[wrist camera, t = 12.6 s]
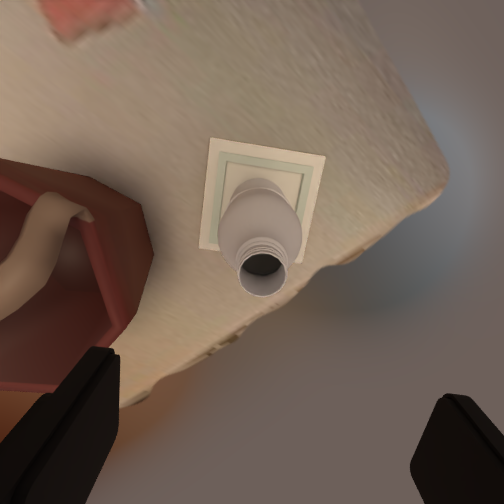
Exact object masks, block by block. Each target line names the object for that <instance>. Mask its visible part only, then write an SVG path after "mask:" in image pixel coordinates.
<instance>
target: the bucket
mask: <svg viewBox="0 0 504 504" xmlns="http://www.w3.org/2000/svg"><path fill="white" fill-rule="evenodd" d="M153 256H154V252H153V248H152V245H151V241H150V237H149V234H148V230H147V226H146V222H145V219H144V215H143V211H142V208H141V204H139V203H137V202H135V201H134V200H132V199H130V198H128V197H126V196H124V195H122V194H121V193H119V192H117V191H115V190H113V189H111V188H109V187H108V186H106V185H104V184H102V183H100V182H98V181H96V180H95V179H93V178H91V177H88V176H83V175H78V174H73V173H68V172H64V171H59V170H54V169H49V168H44V167H39V166H35V165H30V164H25V163H20V162H15V161H11V160H6V159H1V158H0V390H5V391H20V392H21V391H22V392H37V393H53V392H54V391H55V390H56V388H57V387H58V386H59V385H60V384H61V382H62V381H63V380H64V379H65V377H66V376H67V375H68V374H69V372H70V371H71V370H72V369H73V368H74V366H75V365H76V364H77V363H78V361H79V360H80V359H81V358H82V357H83V355H84V354H85V353H86V352H87V350H88V349H89V348H90V347H91V346H98V347H106V348H108V347H109V346H110V345H111V344H112V343H113V342H114V341H115V340H116V339H117V338H118V336H119V335H120V334H121V333H122V332H123V331H124V330H125V329H126V327H127V326H128V324H129V323H130V322H131V320H132V319H133V317H134V316H135V315H136V313H137V310H138V306H139V303H140V300H141V296H142V293H143V290H144V286H145V283H146V280H147V276H148V273H149V270H150V266H151V263H152V260H153Z"/></svg>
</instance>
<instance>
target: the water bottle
mask: <svg viewBox="0 0 504 504" xmlns="http://www.w3.org/2000/svg"><path fill="white" fill-rule="evenodd" d="M218 244H219V248H220V251H221V253H222V256H223V257H224V259H225V261H226V262H227V263H228V264H229V266H230V267H231V268H233V269H234V270H235V271H236V272H237V276H238V280H239V283H240V285H241V286H242V288H243V289H244V290H245V291H246V292H247V293H249V294H251V295H253V296H256V297H268V296H272V295H274V294H276V293H277V292H278V291H280V290H281V289H282V287H283V286H284V285H285V283H286V280H287V273H288V270H287V269H288V268H289V267H290V266H291V265H292V263H293V262H294V261H295V259H296V258H297V256H298V254H299V251H300V249H301V244H302V227H301V224H300V220H299V218H298V216H297V214H296V213H295V211H294V210H293V209H292V207H291V205H290V203H289V201H288V200H287V199H286V198H285V196H284V194H283V192H282V190H281V189H280V188H279V187H278V186H277V185H276V184H275V183H273V182H271V181H269V180H267V179H263V178H254V179H250V180H247V181H245V182H243V183H242V184H240V185H239V186H238V187H237V188H236V189H235V191H234V193H233V194H232V196H231V199H230V202H229V203H228V205H227V207H226V210H225V213H224V215H223V217H222V218H221V221H220V224H219V228H218Z"/></svg>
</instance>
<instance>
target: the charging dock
mask: <svg viewBox="0 0 504 504" xmlns="http://www.w3.org/2000/svg"><path fill="white" fill-rule="evenodd" d="M325 158H326V156H320V155H314V154H308V153H302V152H296V151H290V150H284V149H278V148H272V147H266V146H260V145H254V144H248V143H242V142H236V141H230V140H224V139H218V138H212V137H210V145H209V154H208V164H207V173H206V182H205V192H204V201H203V210H202V220H201V229H200V238H199V248H200V249H207V250H214V251H220V248H219V244H218V228H219V224H220V221H221V218H222V217H223V215H224V213H225V210H226V207H227V205H228V203H229V202H230V199H231V196H232V194H233V193H234V191H235V189H236V188H237V187H238V186H239V185H240V184H242V183H243V182H245V181H247V180H250V179H254V178H263V179H267V180H269V181H271V182H273V183H275V184H276V185H277V186H278V187H279V188H280V189H281V190H282V192H283V194H284V196H285V198H286V199H287V200H288V201H289V203H290V205H291V207H292V209H293V210H294V211H295V213H296V214H297V216H298V218H299V220H300V224H301V227H302V244H301V249H300V251H299V254H298V256H297V258H296V259H295V261H294V263H300V264H302V261H303V257H304V252H305V248H306V243H307V239H308V234H309V230H310V225H311V221H312V216H313V212H314V207H315V203H316V198H317V194H318V189H319V185H320V180H321V176H322V171H323V167H324V162H325ZM220 252H221V251H220Z"/></svg>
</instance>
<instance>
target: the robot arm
mask: <svg viewBox="0 0 504 504" xmlns="http://www.w3.org/2000/svg"><path fill="white" fill-rule="evenodd" d="M119 388H120V355H117V354H115V351H114V349H112V348H106V347H98V346H91V347H90V348H89V349H88V350H87V352H86V353H85V354H84V355H83V357H82V358H81V359H80V360H79V361H78V363H77V364H76V365H75V366H74V368H73V369H72V370H71V371H70V372H69V374H68V375H67V376H66V377H65V379H64V380H63V381H62V382H61V384H60V385H59V386H58V387H57V388H56V390H55V391H54V392H53V393H45V394H43V395H42V396H41V397H40V398H39V399H38V400H37V401H36V402H35V403H34V404H33V406H32V407H31V408H30V409H29V410H28V411H27V413H26V414H25V415H24V416H23V417H22V418H21V420H20V421H19V422H18V423H17V424H16V425H15V427H14V428H13V429H12V430H11V431H10V433H9V434H8V435H7V436H6V437H5V438H4V440H3V441H2V442H1V443H0V504H85V503H86V501H87V498H88V496H89V494H90V492H91V490H92V488H93V486H94V484H95V482H96V479H97V477H98V475H99V473H100V471H101V469H102V466H103V465H104V462H105V460H106V458H107V456H108V454H109V452H110V450H111V448H112V446H113V443H114V441H115V439H116V436H117V432H118V426H119ZM410 472H411V476H412V478H413V480H414V482H415V485H416V487H417V489H418V490H419V493H420V495H421V497H422V499H423V501H424V503H425V504H504V435H503V434H502V433H501V432H500V431H499V430H498V428H497V427H496V426H495V425H494V424H493V423H492V421H491V420H490V419H489V418H488V417H487V416H486V414H485V413H484V412H483V411H482V410H481V409H480V408H479V406H478V405H477V404H476V403H475V402H474V401H473V400H472V399H471V398H470V397H468V396H465V395H457V394H448V393H447V394H445V395H443V397H442V398H440V399H438V401H437V403H436V405H435V407H434V409H433V412H432V414H431V417H430V419H429V421H428V423H427V426H426V428H425V430H424V432H423V435H422V437H421V439H420V441H419V444H418V446H417V449H416V451H415V453H414V455H413V458H412V460H411V463H410Z"/></svg>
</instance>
